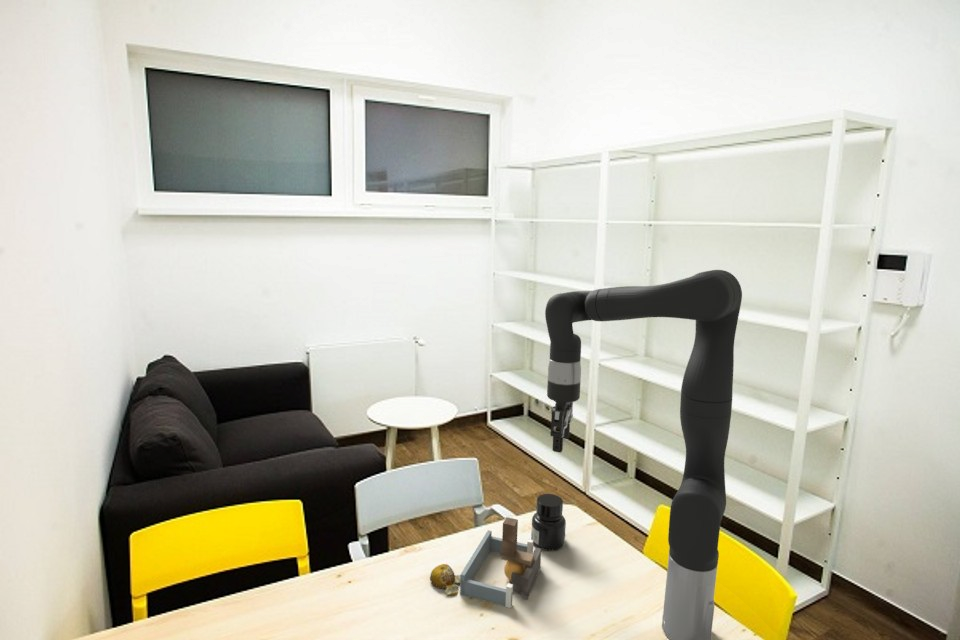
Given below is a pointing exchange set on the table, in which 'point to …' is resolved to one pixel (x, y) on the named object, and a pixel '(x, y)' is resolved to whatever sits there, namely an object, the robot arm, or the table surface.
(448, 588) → the fruit
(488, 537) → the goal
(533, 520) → the ink bottle
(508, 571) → the ball
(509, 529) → the kicker
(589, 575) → the table surface
